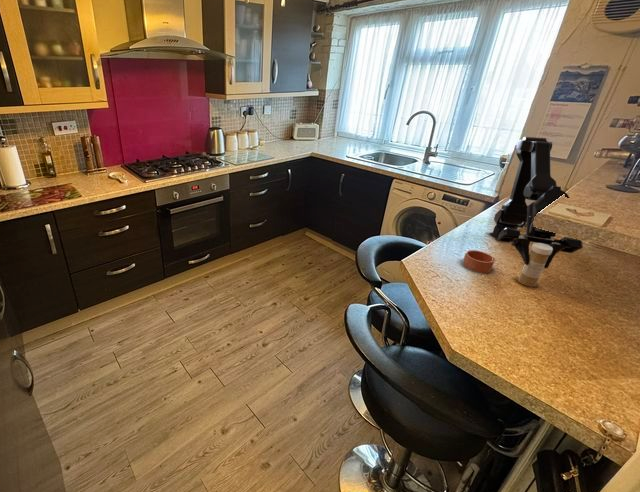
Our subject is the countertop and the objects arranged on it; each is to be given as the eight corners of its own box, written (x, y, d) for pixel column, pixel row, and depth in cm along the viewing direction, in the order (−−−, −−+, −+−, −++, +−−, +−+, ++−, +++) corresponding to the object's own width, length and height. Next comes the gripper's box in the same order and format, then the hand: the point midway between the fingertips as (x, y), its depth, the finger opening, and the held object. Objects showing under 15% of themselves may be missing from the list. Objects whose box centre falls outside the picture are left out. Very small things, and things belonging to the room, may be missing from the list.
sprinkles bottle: (519, 277, 104) (535, 240, 98) (537, 283, 101) (555, 246, 95) (515, 282, 101) (531, 245, 95) (534, 289, 98) (551, 251, 92)
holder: (479, 259, 113) (483, 249, 112) (496, 272, 106) (500, 262, 104) (457, 260, 113) (460, 250, 112) (473, 273, 106) (476, 262, 104)
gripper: (513, 204, 98) (509, 251, 94) (595, 214, 90) (595, 267, 86) (499, 217, 108) (495, 261, 103) (572, 228, 100) (570, 276, 96)
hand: (536, 266), depth 97 cm, fingers closed on sprinkles bottle, 4 cm apart
